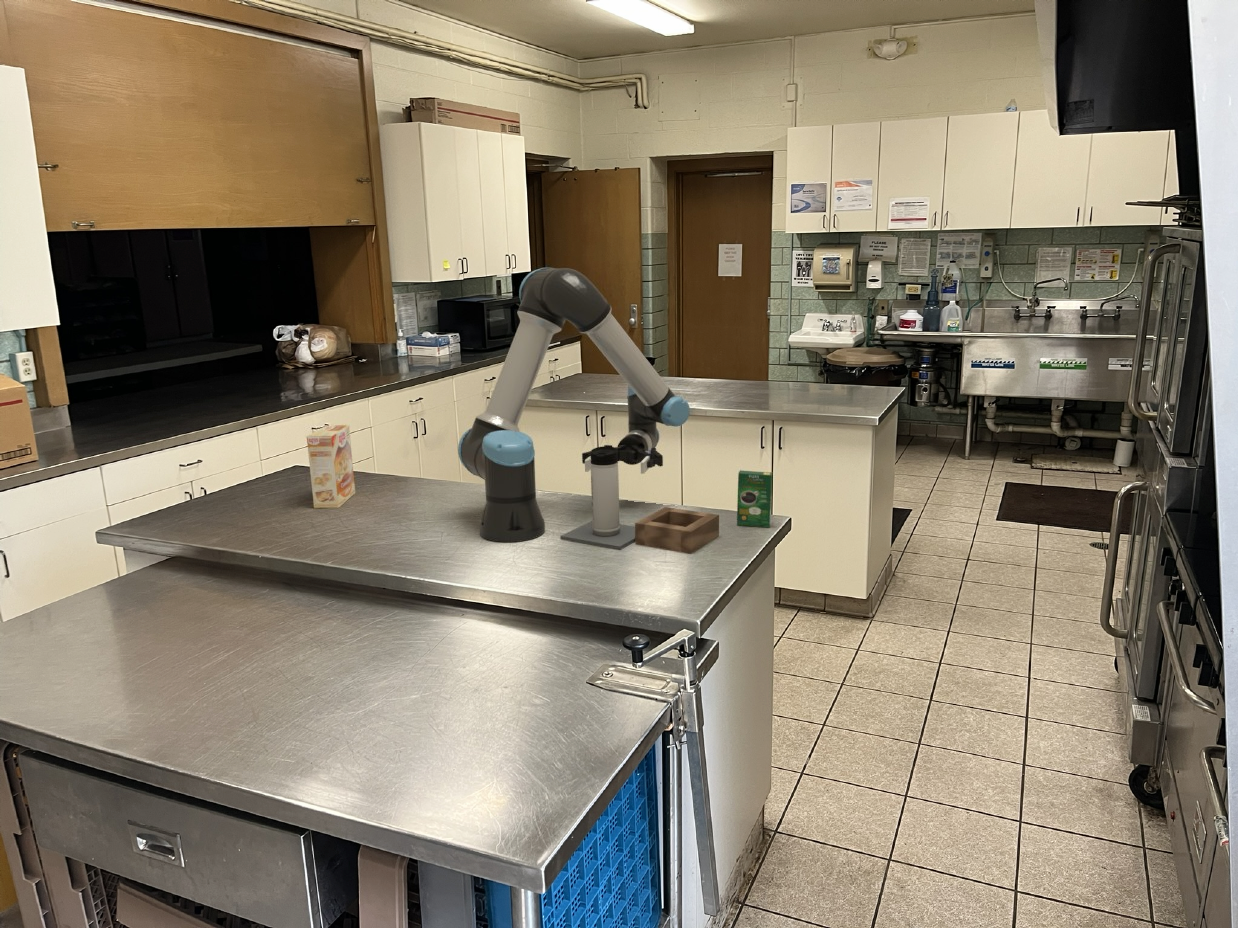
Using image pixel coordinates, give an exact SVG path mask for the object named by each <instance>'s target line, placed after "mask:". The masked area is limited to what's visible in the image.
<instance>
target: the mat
mask: <svg viewBox="0 0 1238 928" xmlns="http://www.w3.org/2000/svg"><path fill="white" fill-rule="evenodd" d="M619 526H620V532H619V533H618V534H617V535H614V536H607V537H604V536H597V535H595V534H594V533H593V525H592V520H590V521H589V522H587V523H584V524H582V525H580V526H578V527H576V528H574V529H572V530H570V531H567V532H566V533H563V534H561V535H560V537H559V538H560V540H561V541H569V542H575V543H579V544H586V545H591V546H597V547H600V548H601V547H602V548H608V549H613V550H619V551H620V550H623V549H625V548H626V547H627V546H629V545H632V544H633V543H635V525H627V524H622V523H620V525H619Z"/></svg>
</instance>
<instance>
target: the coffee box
mask: <svg viewBox="0 0 1238 928" xmlns="http://www.w3.org/2000/svg"><path fill="white" fill-rule="evenodd" d="M737 475H738V476H737V477H738V478H737V479H738V480H737V501H736V502H737V504H736V507H737V510H736V511H737V512H736V526H743V527H759V528H771V518H772V517H771V515H772V514H771V513H772V496H773V495H772V493H773V492H772V491H773V472H768V471H767V472H766V471H753V470H741V469H740V470H739V471H738V474H737Z"/></svg>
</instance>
